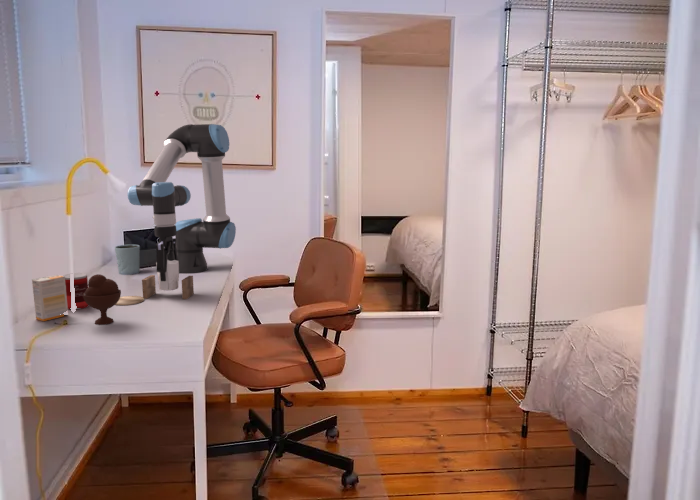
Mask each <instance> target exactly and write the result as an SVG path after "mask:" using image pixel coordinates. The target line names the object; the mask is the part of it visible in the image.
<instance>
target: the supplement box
mask: <svg viewBox="0 0 700 500" xmlns="http://www.w3.org/2000/svg"><path fill="white" fill-rule="evenodd" d="M31 285H32V294H33V302H34V311H35V313H34V314H35V319H36V320H38V321H40V322H46V321H50V320H53V319H58V318H63V317H65V316H64V314H63V313H64V312H66V311H67V310H68V311H69V309H68V306H67V295H66V285H65V277H64V276H63V275H60V274H54V275H49V276H48V275H47V276H44V277H38V278H33V279H31ZM60 314H61V315H60Z"/></svg>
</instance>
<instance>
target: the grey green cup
mask: <svg viewBox="0 0 700 500" xmlns="http://www.w3.org/2000/svg"><path fill="white" fill-rule="evenodd" d="M140 247H141V246H140V245H139V244H121V245H117V246H114V251H115V257H116V263H117V269H118V274H119V275H122V276H125V275H126V276H129V275H137V274H139V273H140V250H141V248H140Z"/></svg>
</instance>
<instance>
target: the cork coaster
mask: <svg viewBox="0 0 700 500" xmlns="http://www.w3.org/2000/svg"><path fill="white" fill-rule="evenodd" d="M144 301H145V299H144V298H143V296H140V295H126V296H124V295H123V296H120V299H119V301H118V302H117V303H116V304H115V305H114V306H132V305H137V304H140V303H142V302H144Z"/></svg>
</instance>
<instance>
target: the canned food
mask: <svg viewBox="0 0 700 500" xmlns="http://www.w3.org/2000/svg"><path fill="white" fill-rule="evenodd" d="M70 274H71V273H67V274H64V275H62V276H64V277H65V285H66V295H67V306H68V310H71V309H70V308H71V292H70ZM88 281H89V279H88V275H87V273H81V272H76V273H75V272H74V288H75V303H76V306H77V308H81V310H82V309H86V308H88V307H90V306H89V305H88V304H86V302H85V300H84V298H83V293H85V291H86V289H87V288H88V287H89V286H88Z"/></svg>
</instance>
